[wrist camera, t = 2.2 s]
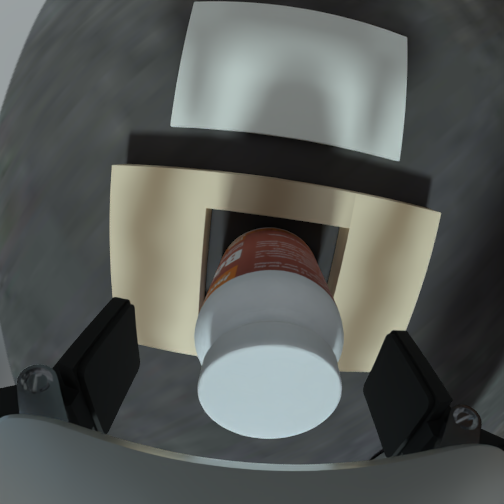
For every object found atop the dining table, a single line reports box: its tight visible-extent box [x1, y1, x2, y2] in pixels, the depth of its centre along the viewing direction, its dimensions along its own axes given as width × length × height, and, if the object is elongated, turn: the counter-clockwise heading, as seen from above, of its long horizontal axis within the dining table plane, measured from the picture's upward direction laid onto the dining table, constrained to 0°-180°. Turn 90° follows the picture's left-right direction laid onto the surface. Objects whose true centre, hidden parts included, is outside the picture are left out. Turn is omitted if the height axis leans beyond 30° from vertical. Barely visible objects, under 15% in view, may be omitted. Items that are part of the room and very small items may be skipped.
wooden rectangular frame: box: [110, 164, 441, 372], centre depth 18 cm, size 20×12×2 cm, turn 83°
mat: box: [170, 1, 407, 161], centre depth 15 cm, size 14×9×1 cm, turn 83°
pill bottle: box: [194, 227, 344, 439], centre depth 14 cm, size 6×6×11 cm
